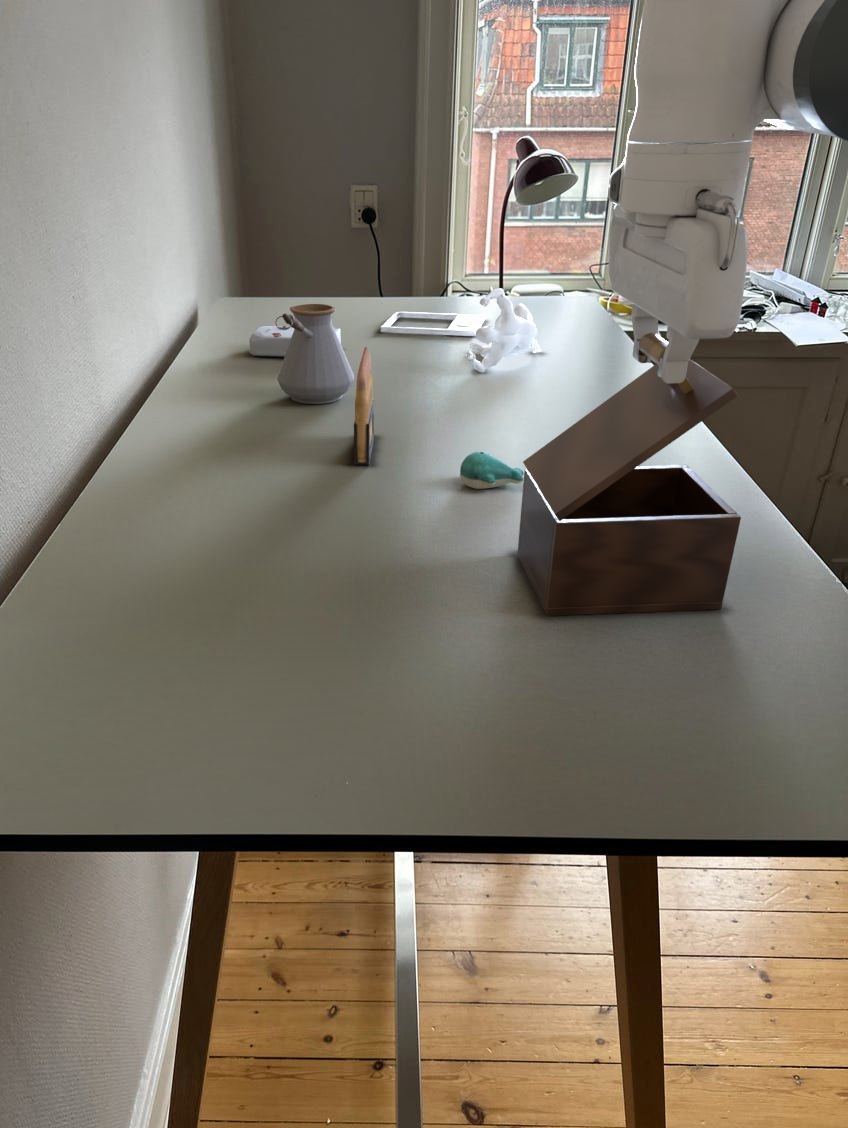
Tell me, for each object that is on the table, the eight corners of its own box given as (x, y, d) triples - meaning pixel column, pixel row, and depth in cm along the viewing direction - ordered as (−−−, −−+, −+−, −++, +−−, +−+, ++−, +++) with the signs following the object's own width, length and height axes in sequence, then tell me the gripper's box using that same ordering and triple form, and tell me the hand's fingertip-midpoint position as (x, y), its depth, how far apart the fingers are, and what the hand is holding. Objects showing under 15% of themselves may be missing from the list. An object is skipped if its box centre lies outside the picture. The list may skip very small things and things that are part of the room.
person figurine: (483, 284, 158) (484, 283, 141) (555, 303, 157) (564, 304, 141) (462, 361, 162) (461, 369, 146) (532, 379, 162) (539, 389, 145)
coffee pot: (290, 384, 144) (285, 283, 136) (361, 388, 142) (360, 286, 134) (248, 426, 126) (239, 313, 118) (329, 431, 124) (326, 316, 116)
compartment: (671, 548, 92) (686, 464, 87) (721, 609, 81) (741, 517, 76) (517, 554, 91) (524, 469, 86) (546, 616, 80) (556, 523, 75)
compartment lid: (680, 356, 82) (652, 308, 79) (738, 396, 71) (707, 342, 69) (527, 467, 86) (496, 426, 84) (559, 521, 75) (525, 475, 73)
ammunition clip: (369, 465, 113) (368, 366, 106) (354, 465, 113) (352, 366, 107) (374, 437, 122) (373, 345, 116) (360, 437, 122) (359, 344, 116)
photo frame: (475, 330, 170) (380, 325, 174) (474, 336, 171) (380, 331, 175) (485, 314, 183) (396, 310, 186) (484, 319, 183) (396, 316, 187)
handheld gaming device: (261, 345, 166) (260, 324, 164) (341, 348, 164) (340, 326, 162) (248, 358, 159) (246, 336, 157) (331, 361, 157) (330, 338, 155)
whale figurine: (462, 474, 110) (463, 443, 108) (523, 477, 109) (526, 446, 107) (457, 491, 105) (458, 460, 103) (522, 495, 104) (524, 463, 102)
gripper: (786, 197, 60) (746, 405, 67) (676, 173, 78) (654, 341, 85) (692, 200, 60) (662, 409, 67) (603, 175, 77) (586, 343, 84)
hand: (657, 370), depth 76 cm, fingers closed on compartment lid, 5 cm apart
